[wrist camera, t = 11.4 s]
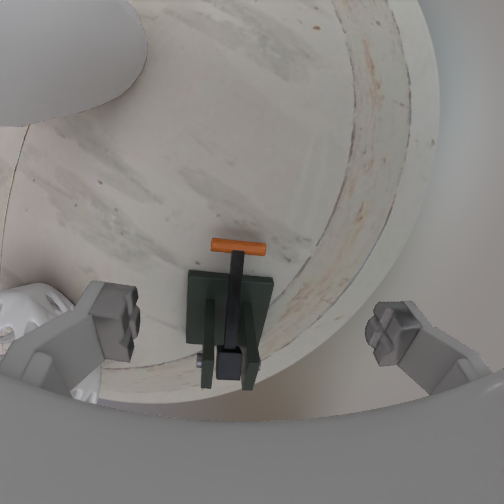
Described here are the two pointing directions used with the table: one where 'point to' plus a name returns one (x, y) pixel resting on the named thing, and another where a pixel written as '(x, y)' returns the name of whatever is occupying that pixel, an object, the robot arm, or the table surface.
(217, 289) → the switch bracket
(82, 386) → the decorative ball
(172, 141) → the table surface
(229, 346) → the switch lever
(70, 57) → the bottle
